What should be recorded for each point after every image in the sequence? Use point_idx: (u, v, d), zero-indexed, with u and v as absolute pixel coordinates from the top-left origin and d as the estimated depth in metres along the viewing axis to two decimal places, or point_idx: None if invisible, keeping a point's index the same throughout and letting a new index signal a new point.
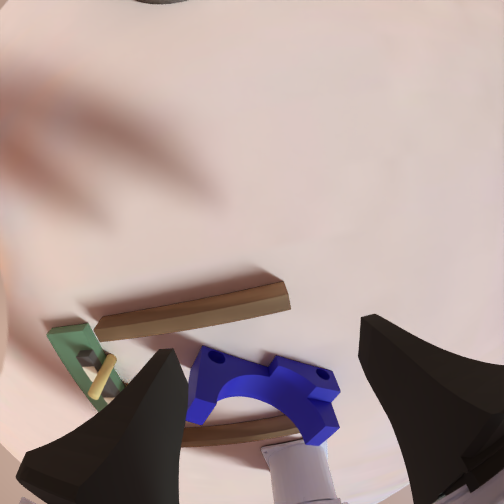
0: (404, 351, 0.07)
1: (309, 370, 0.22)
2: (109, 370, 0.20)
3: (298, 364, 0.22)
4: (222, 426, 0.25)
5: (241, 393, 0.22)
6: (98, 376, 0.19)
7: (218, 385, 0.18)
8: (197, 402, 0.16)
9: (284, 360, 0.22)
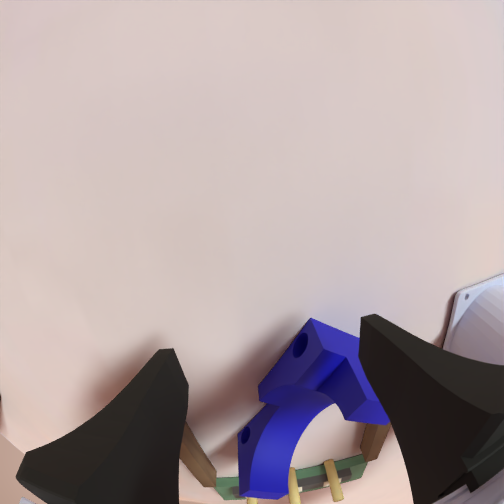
0: (404, 351, 0.07)
1: (286, 363, 0.15)
2: None
3: (275, 369, 0.16)
4: None
5: (301, 427, 0.16)
6: (247, 498, 0.18)
7: (249, 467, 0.14)
8: (247, 495, 0.13)
9: (264, 384, 0.16)
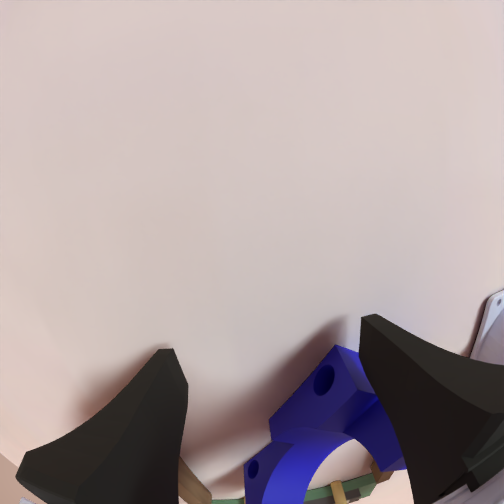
0: (404, 351, 0.07)
1: (305, 399, 0.12)
2: None
3: (291, 405, 0.12)
4: None
5: (318, 461, 0.13)
6: None
7: None
8: None
9: (276, 420, 0.13)
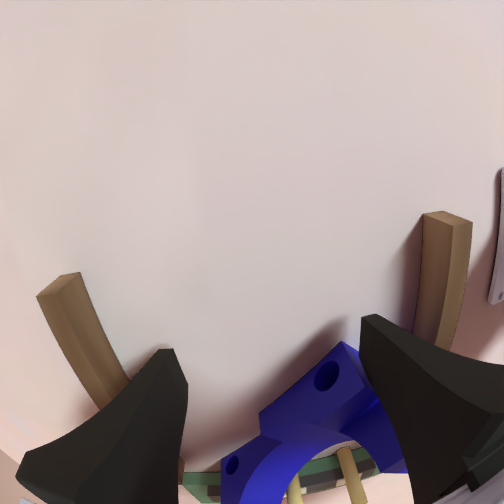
0: (405, 351, 0.07)
1: (303, 394, 0.11)
2: None
3: (286, 400, 0.12)
4: None
5: (301, 463, 0.13)
6: None
7: None
8: None
9: (268, 415, 0.12)
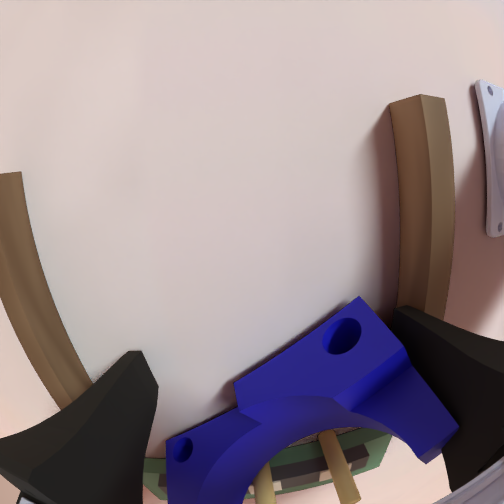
0: (442, 337, 0.07)
1: (307, 359, 0.09)
2: None
3: (279, 366, 0.10)
4: None
5: (271, 453, 0.11)
6: None
7: (191, 503, 0.08)
8: None
9: (250, 385, 0.10)
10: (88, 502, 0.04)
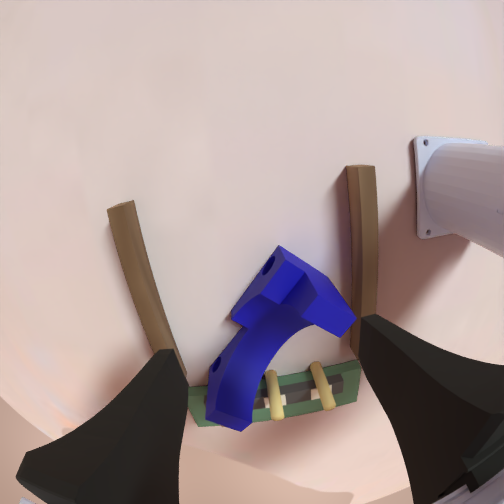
0: (404, 351, 0.07)
1: (256, 282, 0.19)
2: None
3: (247, 291, 0.20)
4: (353, 286, 0.20)
5: (268, 356, 0.20)
6: None
7: (216, 389, 0.18)
8: (212, 419, 0.17)
9: (236, 305, 0.20)
10: None
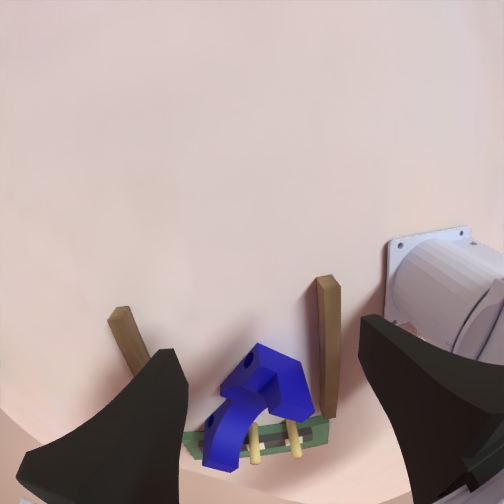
0: (404, 351, 0.07)
1: (238, 371, 0.22)
2: None
3: (232, 374, 0.22)
4: (320, 367, 0.23)
5: (251, 418, 0.23)
6: None
7: (210, 444, 0.21)
8: (207, 465, 0.19)
9: (224, 384, 0.23)
10: None
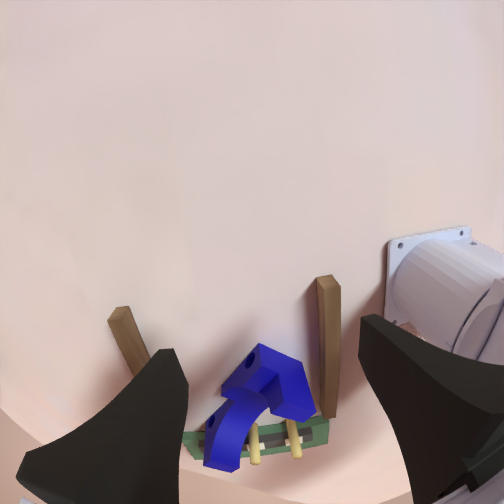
0: (404, 351, 0.07)
1: (240, 371, 0.22)
2: None
3: (233, 374, 0.22)
4: (320, 367, 0.23)
5: (252, 418, 0.23)
6: None
7: (211, 444, 0.21)
8: (209, 465, 0.19)
9: (225, 384, 0.23)
10: None
